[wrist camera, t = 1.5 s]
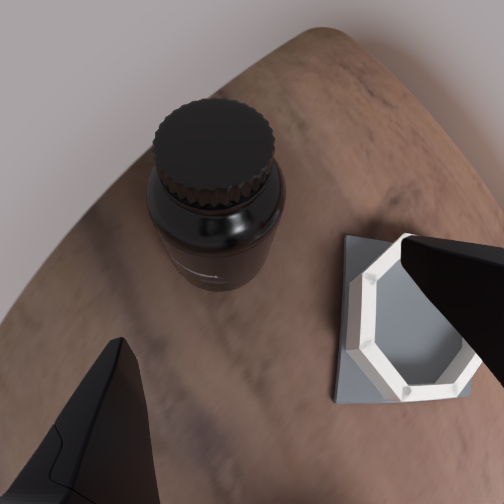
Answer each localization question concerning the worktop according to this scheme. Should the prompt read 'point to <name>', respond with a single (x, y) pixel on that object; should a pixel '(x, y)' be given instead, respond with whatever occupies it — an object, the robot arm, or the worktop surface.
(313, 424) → the worktop surface
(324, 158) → the worktop surface
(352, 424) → the worktop surface
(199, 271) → the supplement bottle
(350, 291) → the collar seat
